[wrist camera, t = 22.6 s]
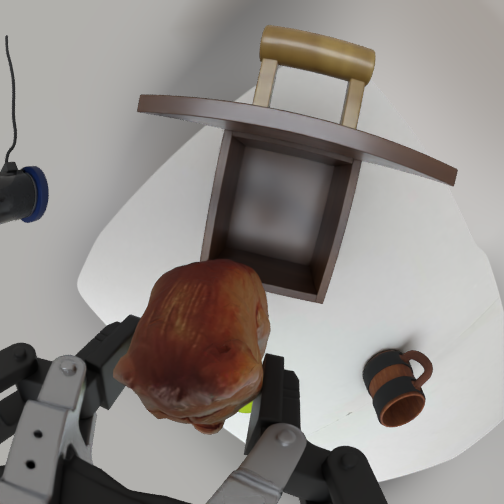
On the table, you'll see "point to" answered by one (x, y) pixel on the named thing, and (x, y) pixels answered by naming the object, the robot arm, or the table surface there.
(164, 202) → the table surface
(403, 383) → the mug
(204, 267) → the figurine
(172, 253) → the table surface
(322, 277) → the chest
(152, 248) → the table surface
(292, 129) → the lid
